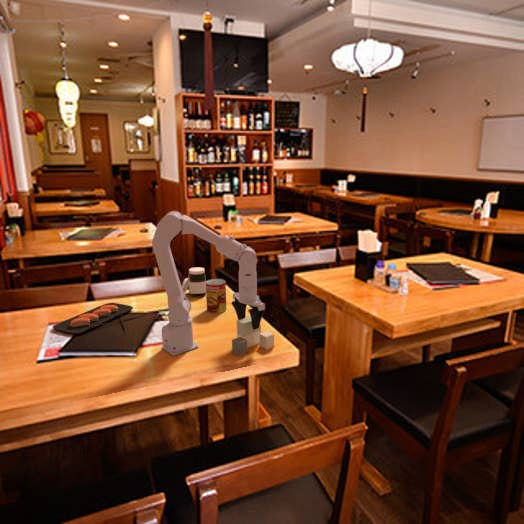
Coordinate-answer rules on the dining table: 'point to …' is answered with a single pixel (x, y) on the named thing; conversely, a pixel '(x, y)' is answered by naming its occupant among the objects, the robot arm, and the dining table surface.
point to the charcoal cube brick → (239, 346)
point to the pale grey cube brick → (266, 340)
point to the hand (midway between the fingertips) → (248, 324)
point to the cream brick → (251, 338)
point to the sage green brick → (245, 326)
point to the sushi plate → (83, 320)
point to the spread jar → (195, 282)
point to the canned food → (216, 295)
